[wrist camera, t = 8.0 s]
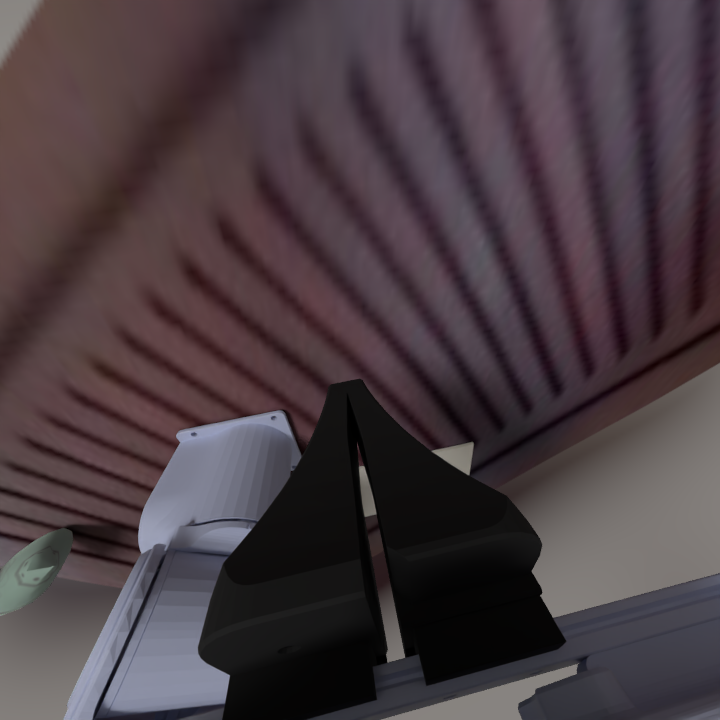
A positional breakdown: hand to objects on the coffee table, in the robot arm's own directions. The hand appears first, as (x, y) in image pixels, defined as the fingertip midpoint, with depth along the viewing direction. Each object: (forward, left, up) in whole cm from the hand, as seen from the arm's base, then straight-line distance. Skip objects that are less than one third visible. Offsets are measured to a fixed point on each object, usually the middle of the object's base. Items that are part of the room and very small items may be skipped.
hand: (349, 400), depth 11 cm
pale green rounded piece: (-32, -18, -11) cm, 38 cm away
